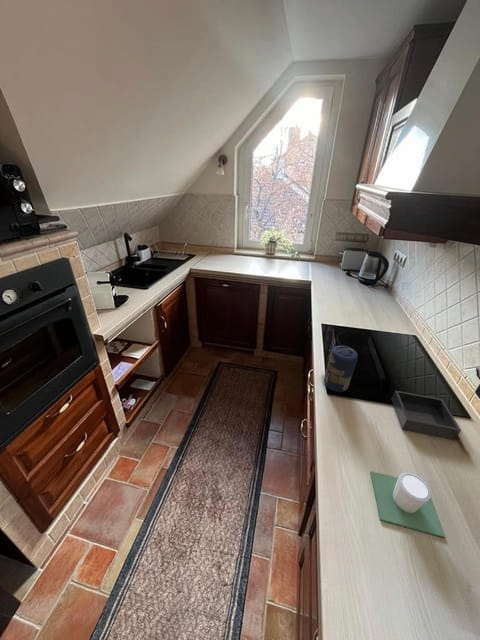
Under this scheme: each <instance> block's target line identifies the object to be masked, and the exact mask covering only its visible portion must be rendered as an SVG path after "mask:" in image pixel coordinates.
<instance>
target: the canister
mask: <svg viewBox="0 0 480 640" xmlns="http://www.w3.org/2000/svg"><path fill="white" fill-rule="evenodd" d="M358 358H359V356H358V352H357V351H356V350H355V349H353V348H351V347H349V346H347V345H335V346H334V347H333V348H332V349H331V351H330V355H329V357H328V361H327V366H326V369H325V373H324V378H323V383H324V385H325V386H326V387H327V388H328V389H329V390H330V391H332V392H335V393H344V392H346V391H347V390H348V389H349V387H350V383H351V380H352V378H353V374H354V371H355V368H356V366H357V363H358Z"/></svg>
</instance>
